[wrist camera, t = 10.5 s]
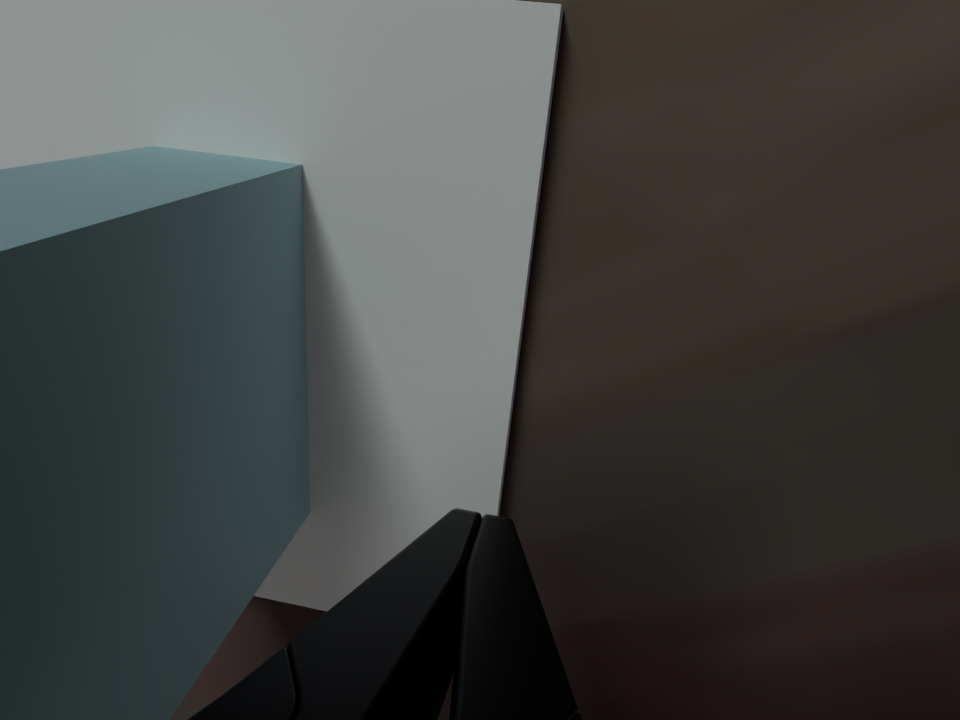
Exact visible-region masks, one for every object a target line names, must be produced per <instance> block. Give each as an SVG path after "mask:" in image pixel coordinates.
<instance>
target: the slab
mask: <svg viewBox="0 0 960 720" xmlns="http://www.w3.org/2000/svg"><path fill="white" fill-rule="evenodd" d="M309 514H310V478H309V435H308V391H307V348H306V305H305V262H304V218H303V175H302V164H295V163H287V162H279V161H271V160H263V159H254V158H246V157H238V156H230V155H222V154H214V153H206V152H198V151H190V150H182V149H174V148H166V147H158V146H151V147H144V148H137V149H131V150H124V151H118V152H111V153H105V154H98V155H91V156H85V157H78V158H72V159H65V160H59V161H52V162H46V163H39V164H32V165H26V166H19V167H13V168H6V169H0V720H170V718H171V717H172V715H173V714H174V712H175V711H176V709H177V708H178V706H179V705H180V703H181V702H182V700H183V699H184V697H185V696H186V695H187V693H188V692H189V690H190V689H191V687H192V686H193V684H194V683H195V681H196V680H197V678H198V677H199V675H200V674H201V672H202V671H203V670H204V668H205V667H206V665H207V664H208V662H209V661H210V659H211V658H212V656H213V655H214V653H215V652H216V650H217V649H218V647H219V646H220V645H221V643H222V642H223V640H224V639H225V637H226V636H227V634H228V633H229V631H230V630H231V628H232V627H233V625H234V624H235V622H236V621H237V620H238V618H239V617H240V615H241V614H242V612H243V611H244V609H245V608H246V606H247V605H248V603H249V602H250V600H251V599H252V597H253V596H254V595H255V593H256V592H257V590H258V589H259V587H260V586H261V584H262V583H263V581H264V580H265V578H266V577H267V575H268V574H269V572H270V571H271V570H272V568H273V567H274V565H275V564H276V562H277V561H278V559H279V558H280V556H281V555H282V553H283V552H284V550H285V549H286V547H287V546H288V545H289V543H290V542H291V540H292V539H293V537H294V536H295V534H296V533H297V531H298V530H299V528H300V527H301V525H302V524H303V523H304V521H305V520H306V518H307V517H308V515H309Z"/></svg>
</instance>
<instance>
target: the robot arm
mask: <svg viewBox="0 0 960 720" xmlns="http://www.w3.org/2000/svg"><path fill="white" fill-rule="evenodd" d="M453 671H454V675H453ZM452 675H453V685H452V695H451V705H450V716H449V720H582V718H581V715H580V714H579V713H578V707H577V704H576V701H575V698H574V696H573V693H572V690H571V687H570V684H569V681H568V678H567V675H566V672H565V670H564V667H563V664H562V661H561V658H560V655H559V652H558V649H557V647H556V644H555V641H554V638H553V635H552V632H551V629H550V626H549V624H548V621H547V618H546V615H545V612H544V609H543V606H542V603H541V600H540V598H539V595H538V592H537V589H536V586H535V583H534V580H533V577H532V575H531V572H530V569H529V566H528V563H527V560H526V557H525V554H524V551H523V549H522V546H521V543H520V540H519V537H518V534H517V531H516V528H515V526H514V523H513V521H512V520H511V519H510V518H507V517H501V516H496V515H490V514H486V515H484V516H483V517H482V516H481V514H480V513H479V512H474V511H469V510H464V509H459V508H455V509H452V510H451V511H449V512H448V513H447V514H446V515H445V516H443V517H442V518H441V519H440V520H438V521H437V522H436V523H435V524H434V525H432V526H431V527H430V528H429V529H427V530H426V531H425V532H424V533H423V534H421V535H420V536H419V537H418V538H416V539H415V540H414V541H413V542H411V543H410V544H409V545H408V546H407V547H405V548H404V549H403V550H402V551H400V552H399V553H398V554H397V555H396V556H394V557H393V558H392V559H391V560H389V561H388V562H387V563H386V564H385V565H383V566H382V567H381V568H380V569H378V570H377V571H376V572H375V573H374V574H372V575H371V576H370V577H369V578H367V579H366V580H365V581H364V582H363V583H361V584H360V585H359V586H358V587H356V588H355V589H354V590H353V591H352V592H350V593H349V594H348V595H347V596H345V597H344V598H343V599H342V600H341V601H339V602H338V603H337V604H336V605H334V606H333V607H332V608H331V609H330V610H328V611H327V612H326V613H325V614H323V615H322V616H321V617H320V618H319V619H317V620H316V621H315V622H314V623H312V624H311V625H310V626H309V627H308V628H306V629H305V630H304V631H303V632H301V633H300V634H299V635H298V636H297V637H295V638H294V639H293V640H292V641H290V642H289V643H288V645H287V648H281V649H280V650H279V651H278V652H277V653H275V654H274V655H273V656H272V657H270V658H269V659H268V660H267V661H266V662H264V663H263V664H262V665H261V666H259V667H258V668H257V669H256V670H254V671H253V672H252V673H250V674H249V675H248V676H246V677H245V678H244V679H243V680H241V681H240V682H239V683H237V684H236V685H235V686H234V687H232V688H231V689H230V690H228V691H227V692H226V693H225V694H223V695H222V696H220V697H219V698H218V699H216V700H215V701H213V702H212V703H210V704H209V705H208V706H206V707H205V708H203V709H202V710H200V711H199V712H198V713H196V714H195V715H193V716H192V717H190V718H189V719H187V720H437V719H438V717H439V714H440V711H441V708H442V705H443V702H444V700H445V697H446V694H447V691H448V688H449V685H450V681H451V678H452Z"/></svg>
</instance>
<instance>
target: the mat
mask: <svg viewBox="0 0 960 720" xmlns="http://www.w3.org/2000/svg"><path fill="white" fill-rule="evenodd" d="M563 9H564V8H563V6H562V5H561V4H552V3H540V2H529V1H517V0H0V169H6V168H13V167H19V166H26V165H32V164H39V163H46V162H52V161H59V160H65V159H72V158H78V157H85V156H91V155H98V154H105V153H111V152H118V151H124V150H131V149H137V148H144V147H151V146H158V147H166V148H174V149H182V150H190V151H198V152H206V153H214V154H222V155H230V156H238V157H246V158H254V159H263V160H271V161H279V162H287V163H295V164H302V175H303V218H304V262H305V305H306V348H307V391H308V435H309V478H310V514H309V515H308V517H307V518H306V520H305V521H304V523H303V524H302V525H301V527H300V528H299V530H298V531H297V533H296V534H295V536H294V537H293V539H292V540H291V542H290V543H289V545H288V546H287V547H286V549H285V550H284V552H283V553H282V555H281V556H280V558H279V559H278V561H277V562H276V564H275V565H274V567H273V568H272V570H271V571H270V572H269V574H268V575H267V577H266V578H265V580H264V581H263V583H262V584H261V586H260V587H259V589H258V590H257V592H256V593H255V595H254V596H257V597H262V598H266V599H271V600H276V601H281V602H285V603H290V604H295V605H299V606H304V607H309V608H313V609H318V610H323V611H328V610H330V609H331V608H332V607H333V606H334V605H336V604H337V603H338V602H339V601H341V600H342V599H343V598H344V597H345V596H347V595H348V594H349V593H350V592H352V591H353V590H354V589H355V588H356V587H358V586H359V585H360V584H361V583H363V582H364V581H365V580H366V579H367V578H369V577H370V576H371V575H372V574H374V573H375V572H376V571H377V570H378V569H380V568H381V567H382V566H383V565H385V564H386V563H387V562H388V561H389V560H391V559H392V558H393V557H394V556H396V555H397V554H398V553H399V552H400V551H402V550H403V549H404V548H405V547H407V546H408V545H409V544H410V543H411V542H413V541H414V540H415V539H416V538H418V537H419V536H420V535H421V534H423V533H424V532H425V531H426V530H427V529H429V528H430V527H431V526H432V525H434V524H435V523H436V522H437V521H438V520H440V519H441V518H442V517H443V516H445V515H446V514H447V513H448V512H449V511H451V510H452V509H455V508H459V509H464V510H469V511H474V512H479V513H480V514H481V516H482V517H483V516H484V515H486V514H490V515H496V516H499V512H500V504H501V496H502V489H503V481H504V473H505V465H506V457H507V449H508V441H509V434H510V426H511V418H512V410H513V402H514V394H515V386H516V378H517V371H518V363H519V355H520V347H521V339H522V331H523V323H524V316H525V308H526V300H527V292H528V284H529V276H530V268H531V261H532V253H533V245H534V237H535V229H536V221H537V213H538V206H539V198H540V190H541V182H542V174H543V166H544V158H545V151H546V143H547V135H548V127H549V119H550V111H551V103H552V95H553V88H554V80H555V72H556V64H557V56H558V48H559V40H560V33H561V25H562V17H563Z"/></svg>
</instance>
